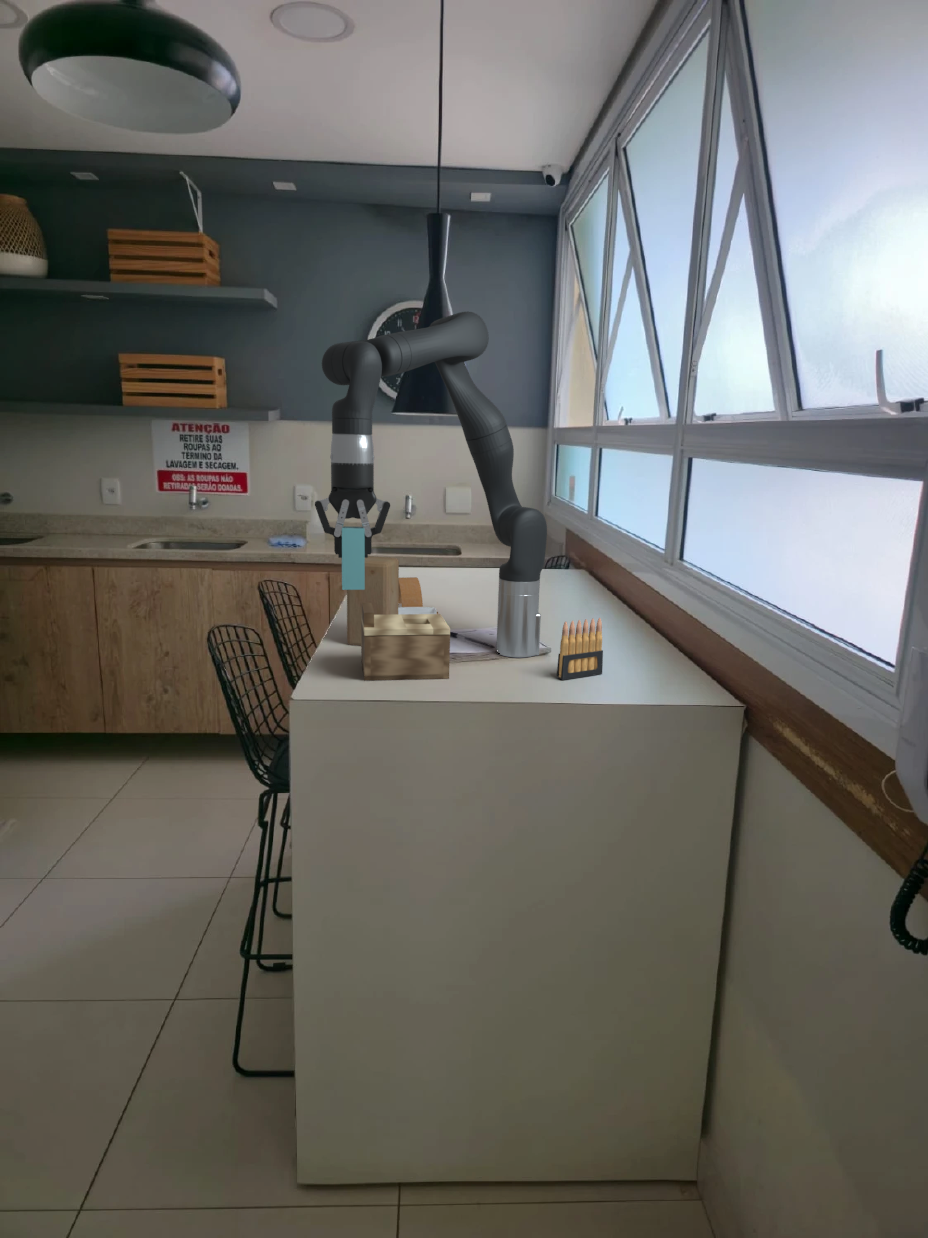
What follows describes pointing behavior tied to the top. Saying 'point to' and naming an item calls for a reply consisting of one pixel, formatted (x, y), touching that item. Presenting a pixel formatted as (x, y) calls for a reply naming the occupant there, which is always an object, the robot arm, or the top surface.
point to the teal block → (353, 558)
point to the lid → (402, 623)
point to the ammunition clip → (580, 651)
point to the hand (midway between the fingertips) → (352, 556)
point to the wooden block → (373, 594)
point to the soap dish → (417, 610)
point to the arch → (410, 592)
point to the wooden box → (405, 657)
